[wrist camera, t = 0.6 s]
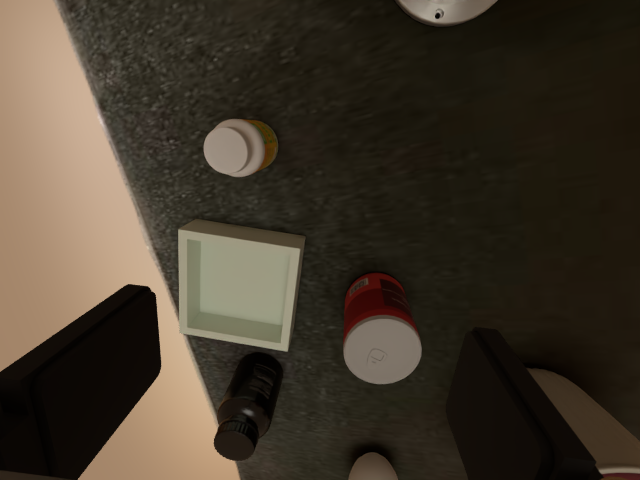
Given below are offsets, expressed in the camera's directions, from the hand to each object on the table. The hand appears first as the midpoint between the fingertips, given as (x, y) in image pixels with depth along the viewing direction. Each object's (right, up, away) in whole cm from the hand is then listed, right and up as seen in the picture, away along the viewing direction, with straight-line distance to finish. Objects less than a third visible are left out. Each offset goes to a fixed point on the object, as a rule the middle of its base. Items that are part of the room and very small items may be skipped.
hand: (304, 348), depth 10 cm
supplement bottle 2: (-8, -16, +39) cm, 43 cm away
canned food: (+8, -4, +33) cm, 34 cm away
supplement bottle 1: (-7, +14, +28) cm, 32 cm away
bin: (-9, -2, +33) cm, 35 cm away
